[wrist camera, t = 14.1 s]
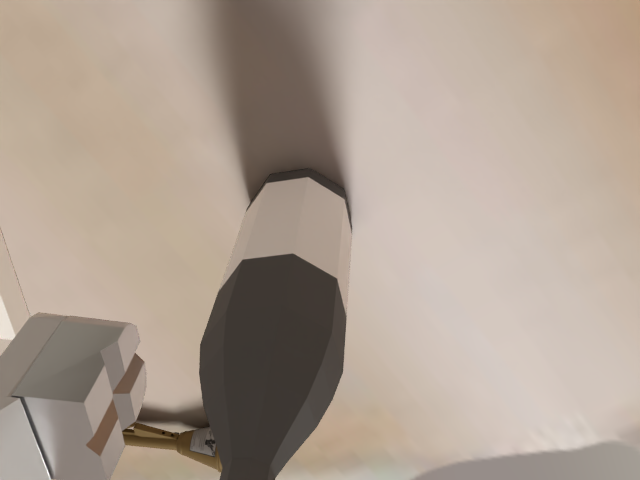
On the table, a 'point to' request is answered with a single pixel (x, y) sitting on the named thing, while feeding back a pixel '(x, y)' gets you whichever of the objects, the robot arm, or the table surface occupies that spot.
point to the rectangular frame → (10, 297)
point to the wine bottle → (278, 325)
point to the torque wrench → (176, 442)
